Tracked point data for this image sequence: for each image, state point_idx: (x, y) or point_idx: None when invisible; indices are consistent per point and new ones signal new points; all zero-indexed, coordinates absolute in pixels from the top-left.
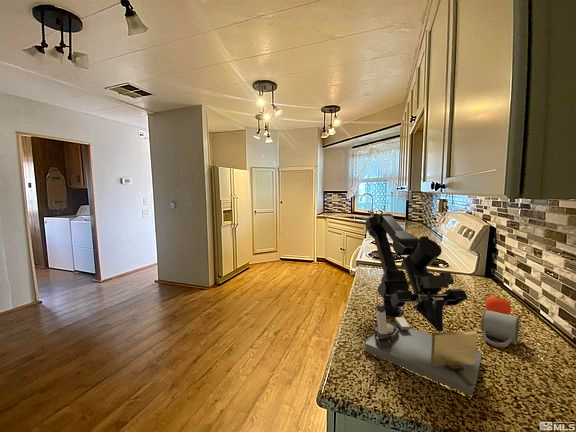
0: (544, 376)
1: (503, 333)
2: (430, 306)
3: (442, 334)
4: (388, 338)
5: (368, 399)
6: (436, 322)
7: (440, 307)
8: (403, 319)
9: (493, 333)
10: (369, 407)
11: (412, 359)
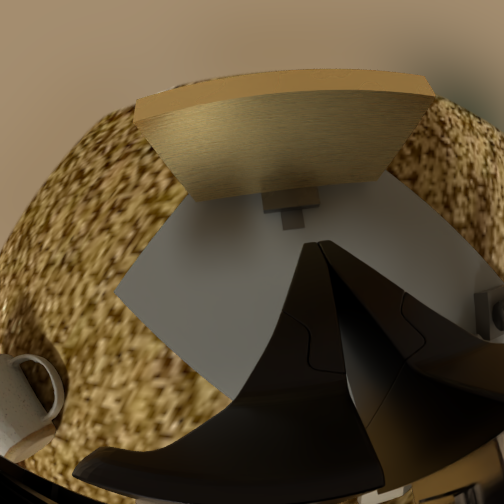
0: (36, 239)
1: (11, 377)
2: (468, 360)
3: (382, 75)
4: (501, 300)
5: (491, 139)
6: (360, 263)
7: (285, 397)
8: (371, 492)
9: (32, 399)
10: (486, 123)
11: (423, 226)
